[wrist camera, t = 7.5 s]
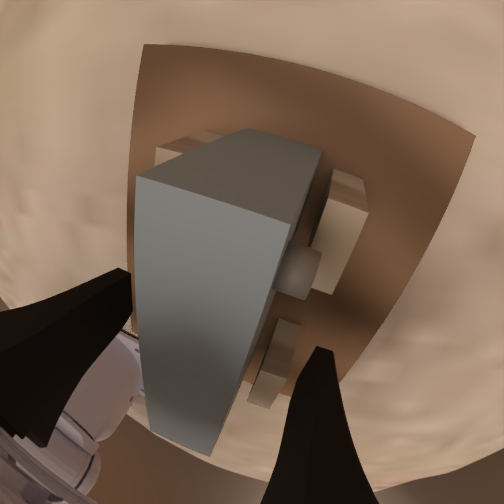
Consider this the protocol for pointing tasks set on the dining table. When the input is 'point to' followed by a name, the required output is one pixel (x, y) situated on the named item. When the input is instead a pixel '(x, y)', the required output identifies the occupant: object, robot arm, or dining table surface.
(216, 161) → the grey block
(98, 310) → the robot arm
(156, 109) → the cabinet base
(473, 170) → the dining table surface
